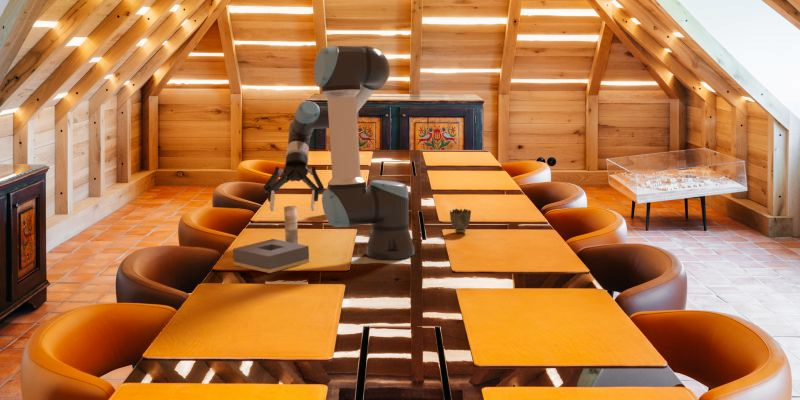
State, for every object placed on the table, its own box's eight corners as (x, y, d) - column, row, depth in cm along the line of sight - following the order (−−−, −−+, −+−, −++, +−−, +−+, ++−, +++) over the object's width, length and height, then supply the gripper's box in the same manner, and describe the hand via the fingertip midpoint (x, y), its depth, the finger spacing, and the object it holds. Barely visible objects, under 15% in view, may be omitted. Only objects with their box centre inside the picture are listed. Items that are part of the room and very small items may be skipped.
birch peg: (300, 249, 267) (299, 206, 265) (291, 251, 264) (290, 208, 262) (292, 247, 270) (290, 205, 267) (283, 249, 267) (281, 207, 264)
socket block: (309, 261, 251) (308, 245, 250) (269, 273, 239) (268, 256, 238) (273, 254, 261) (272, 238, 260) (233, 264, 249) (233, 248, 248)
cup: (457, 229, 293) (457, 207, 291) (475, 232, 288) (475, 209, 287) (445, 233, 287) (445, 210, 286) (462, 236, 283) (462, 213, 281)
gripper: (334, 163, 286) (330, 214, 274) (262, 164, 287) (256, 215, 275) (332, 150, 280) (328, 202, 268) (259, 151, 281) (252, 202, 269)
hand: (291, 208), depth 271 cm, fingers open, 13 cm apart
